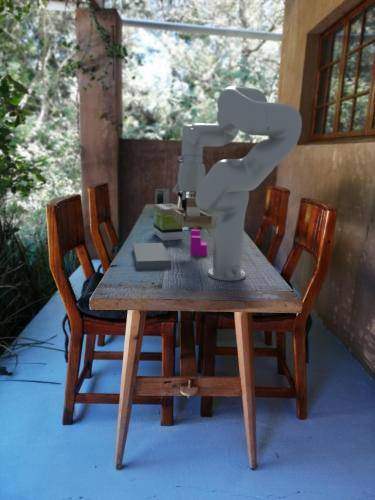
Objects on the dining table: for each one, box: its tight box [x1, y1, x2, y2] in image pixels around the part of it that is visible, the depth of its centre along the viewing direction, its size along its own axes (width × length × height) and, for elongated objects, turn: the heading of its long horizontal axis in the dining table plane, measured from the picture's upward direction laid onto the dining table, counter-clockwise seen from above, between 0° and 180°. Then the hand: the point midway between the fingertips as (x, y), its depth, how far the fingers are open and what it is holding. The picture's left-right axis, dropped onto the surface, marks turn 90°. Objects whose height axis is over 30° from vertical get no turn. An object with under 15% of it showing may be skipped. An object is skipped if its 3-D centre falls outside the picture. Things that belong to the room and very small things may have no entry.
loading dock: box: [132, 242, 172, 270], centre depth 153 cm, size 26×12×3 cm, turn 11°
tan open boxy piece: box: [173, 196, 213, 228], centre depth 151 cm, size 24×10×9 cm, turn 10°
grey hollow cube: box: [154, 188, 170, 204], centre depth 251 cm, size 14×16×15 cm
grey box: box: [187, 207, 201, 216], centre depth 145 cm, size 4×4×4 cm
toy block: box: [190, 229, 208, 257], centre depth 167 cm, size 15×6×8 cm, turn 0°
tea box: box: [152, 203, 183, 241], centre depth 189 cm, size 15×10×15 cm, turn 21°
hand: (190, 209), depth 152 cm, fingers closed on tan open boxy piece, 4 cm apart
